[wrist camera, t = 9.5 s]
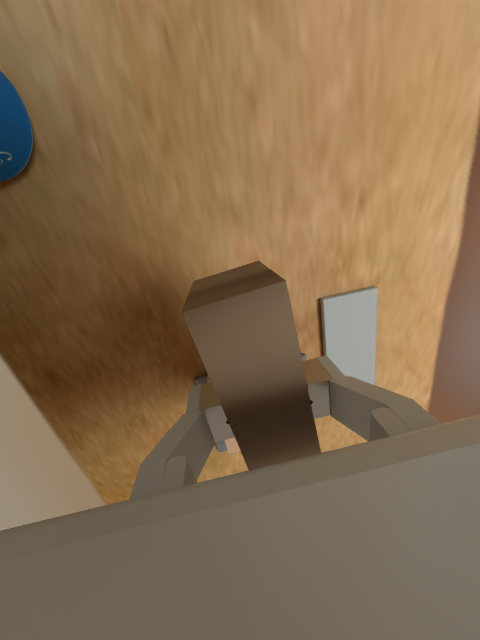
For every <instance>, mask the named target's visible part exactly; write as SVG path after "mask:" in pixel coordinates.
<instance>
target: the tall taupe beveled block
mask: <svg viewBox="0 0 480 640" xmlns="http://www.w3.org/2000/svg"><path fill="white" fill-rule="evenodd" d="M182 315H183V318H184V320H185V322H186V325H187V327H188V329H189V332H190V334H191V336H192V339H193V341H194V343H195V346H196V348H197V350H198V353H199V355H200V357H201V360H202V362H203V364H204V367H205V369H206V371H207V374H208V376H209V378H210V381H211V383H212V385H213V388H214V390H215V392H216V395H217V397H218V399H219V401H220V404H221V406H222V408H223V411H224V413H225V415H226V418H227V420H228V422H229V425H230V427H231V429H232V432H233V434H234V436H235V439H236V441H237V443H238V446H239V448H240V450H241V453H242V455H243V457H244V460H245V462H246V464H247V467H248V469H249V470H253V469H257V468H262V467H266V466H270V465H274V464H278V463H282V462H286V461H290V460H295V459H299V458H303V457H307V456H311V455H315V454H319V453H321V451H320V446H319V441H318V436H317V431H316V426H315V421H314V417H313V412H312V407H311V402H310V397H309V392H308V387H307V382H306V377H305V373H304V368H303V363H302V358H301V353H300V348H299V343H298V338H297V333H296V329H295V324H294V319H293V314H292V309H291V304H290V299H289V294H288V290H287V285H286V280H284V279H283V278H282V277H280V276H279V275H277V274H276V273H275V272H273V271H272V270H270V269H269V268H268V267H266V266H265V265H264V264H262V263H261V262H259V261H257V262H253V263H250V264H247V265H244V266H241V267H237V268H234V269H231V270H228V271H225V272H221V273H218V274H215V275H212V276H209V277H206V278H202V279H199V280H196V281H194V282H193V284H192V287H191V290H190V292H189V295H188V297H187V300H186V303H185V305H184V308H183V310H182Z"/></svg>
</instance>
